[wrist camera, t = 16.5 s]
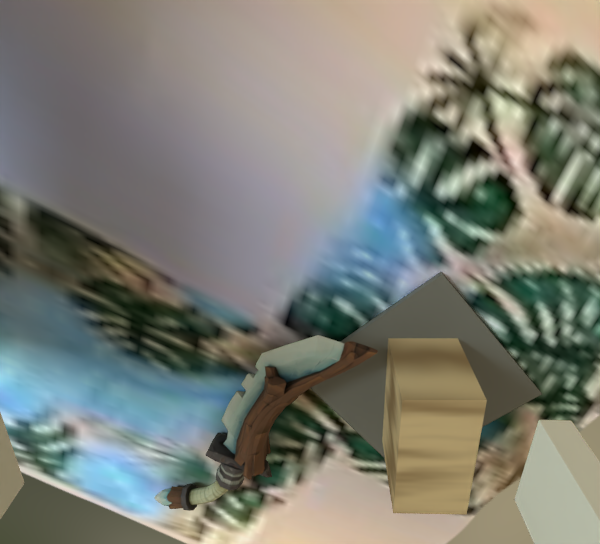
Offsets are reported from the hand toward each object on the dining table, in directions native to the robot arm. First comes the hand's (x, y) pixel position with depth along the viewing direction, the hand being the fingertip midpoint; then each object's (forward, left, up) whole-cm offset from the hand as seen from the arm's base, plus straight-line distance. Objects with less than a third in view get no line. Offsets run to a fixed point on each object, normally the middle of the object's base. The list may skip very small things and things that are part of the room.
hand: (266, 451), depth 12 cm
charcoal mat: (-4, -21, -27) cm, 34 cm away
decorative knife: (-20, -15, -27) cm, 37 cm away
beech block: (-9, -26, -22) cm, 36 cm away
